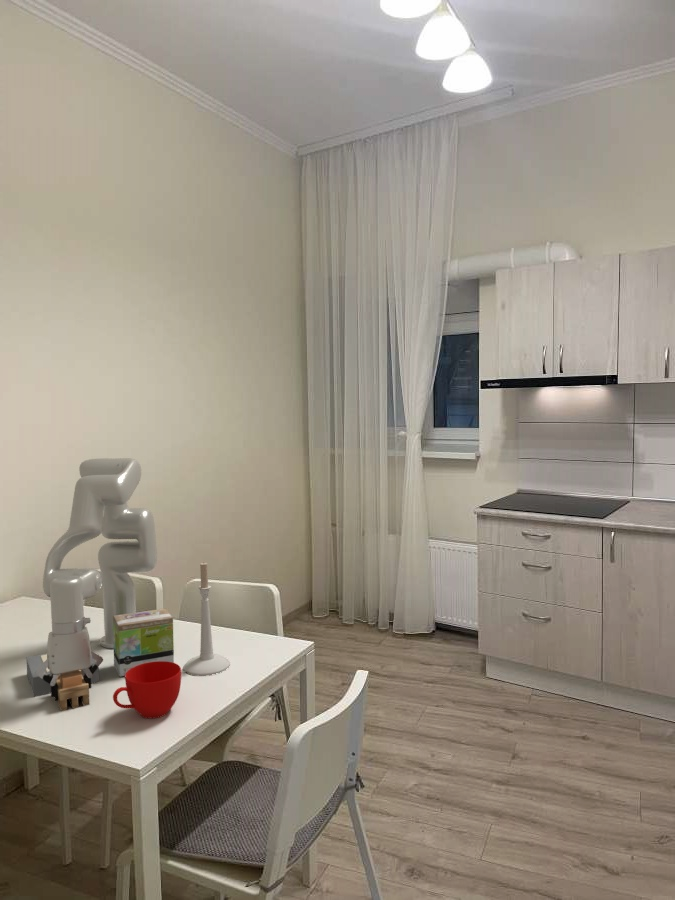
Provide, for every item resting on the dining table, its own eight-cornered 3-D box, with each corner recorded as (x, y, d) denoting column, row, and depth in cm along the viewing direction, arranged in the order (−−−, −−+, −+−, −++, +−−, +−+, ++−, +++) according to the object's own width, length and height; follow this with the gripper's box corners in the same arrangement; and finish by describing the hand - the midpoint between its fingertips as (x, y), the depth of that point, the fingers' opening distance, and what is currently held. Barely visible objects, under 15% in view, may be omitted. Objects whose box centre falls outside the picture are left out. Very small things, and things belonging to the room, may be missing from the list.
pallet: (81, 688, 171) (80, 669, 171) (89, 704, 162) (88, 684, 161) (54, 694, 168) (53, 675, 167) (61, 711, 158) (60, 691, 158)
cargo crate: (78, 678, 168) (78, 668, 168) (82, 685, 163) (81, 675, 163) (60, 682, 166) (59, 672, 165) (63, 689, 161) (62, 679, 161)
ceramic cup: (100, 719, 154) (99, 678, 153) (162, 695, 166) (161, 656, 166) (130, 737, 145) (128, 694, 144) (193, 710, 158) (191, 670, 157)
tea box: (119, 678, 177) (117, 625, 176) (113, 665, 186) (111, 614, 185) (175, 667, 184) (173, 616, 183) (166, 655, 193) (165, 606, 192)
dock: (88, 662, 188) (87, 644, 188) (99, 682, 175) (98, 663, 174) (27, 674, 180) (26, 656, 180) (33, 696, 167) (32, 676, 166)
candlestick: (184, 678, 176) (181, 569, 174) (183, 660, 189) (179, 558, 186) (232, 672, 180) (229, 565, 178) (227, 655, 192) (224, 555, 190)
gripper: (101, 615, 171) (104, 681, 172) (28, 628, 162) (32, 698, 163) (107, 623, 165) (110, 692, 166) (32, 637, 156) (35, 709, 157)
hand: (71, 694), depth 165 cm, fingers closed on pallet, 6 cm apart
